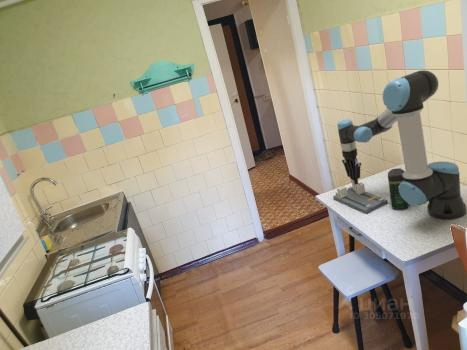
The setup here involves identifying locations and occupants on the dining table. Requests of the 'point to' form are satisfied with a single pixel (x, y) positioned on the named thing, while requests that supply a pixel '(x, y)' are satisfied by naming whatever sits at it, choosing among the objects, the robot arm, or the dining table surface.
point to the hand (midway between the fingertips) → (355, 189)
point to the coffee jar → (396, 188)
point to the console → (361, 201)
